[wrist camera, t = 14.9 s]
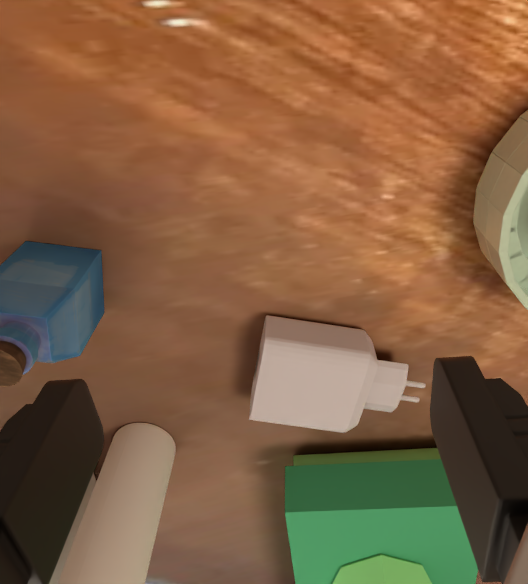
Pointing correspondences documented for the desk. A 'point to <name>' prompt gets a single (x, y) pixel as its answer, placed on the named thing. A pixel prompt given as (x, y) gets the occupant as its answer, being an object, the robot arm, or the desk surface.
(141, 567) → the spray bottle
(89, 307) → the perfume bottle
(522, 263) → the ceramic bowl
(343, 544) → the toy tank
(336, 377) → the charger
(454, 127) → the desk surface
